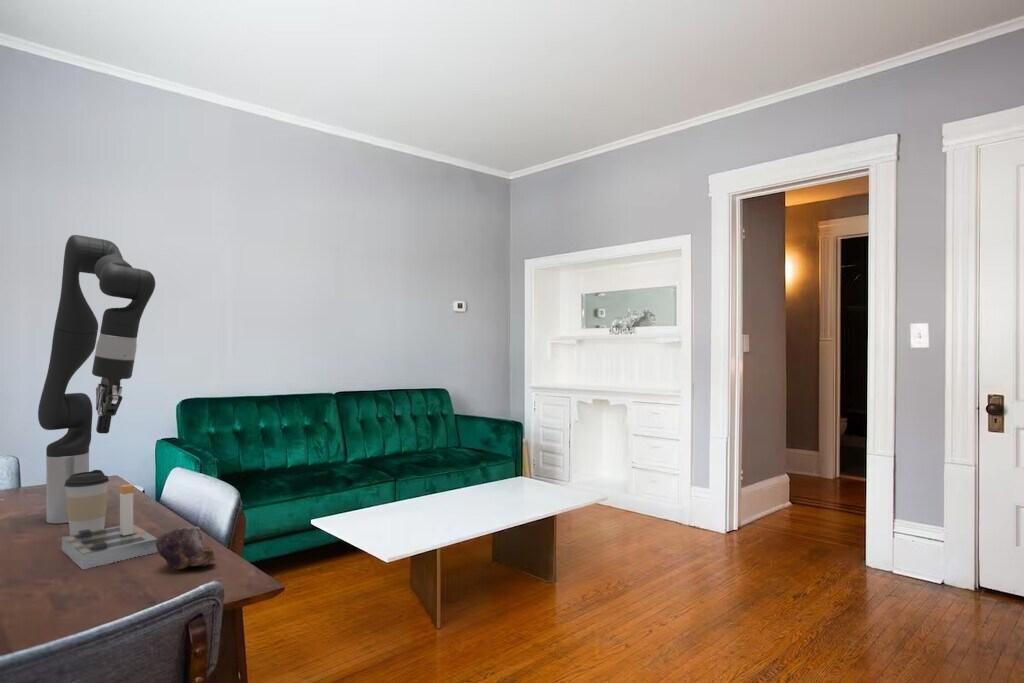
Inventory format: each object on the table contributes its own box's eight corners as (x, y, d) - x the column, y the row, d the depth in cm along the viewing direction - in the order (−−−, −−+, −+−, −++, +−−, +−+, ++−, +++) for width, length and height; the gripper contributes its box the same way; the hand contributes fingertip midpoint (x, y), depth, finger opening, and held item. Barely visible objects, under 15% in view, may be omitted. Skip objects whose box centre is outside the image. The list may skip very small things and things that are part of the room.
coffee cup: (86, 540, 145) (86, 477, 145) (54, 538, 147) (54, 475, 147) (118, 529, 154) (117, 469, 154) (87, 527, 156) (87, 468, 156)
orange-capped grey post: (119, 533, 140) (119, 485, 140) (130, 531, 142) (130, 483, 142) (123, 535, 138) (122, 487, 139) (133, 533, 140) (133, 485, 140)
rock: (200, 560, 135) (148, 571, 128) (199, 520, 136) (148, 529, 129) (220, 565, 127) (167, 577, 120) (219, 522, 128) (165, 531, 121)
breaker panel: (61, 550, 139) (61, 532, 139) (132, 535, 149) (132, 519, 149) (82, 569, 126) (82, 550, 126) (157, 552, 137) (157, 534, 137)
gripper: (142, 361, 135) (129, 439, 135) (126, 353, 144) (114, 426, 144) (102, 357, 130) (88, 439, 130) (88, 350, 139) (76, 426, 139)
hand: (102, 432), depth 137 cm, fingers closed
